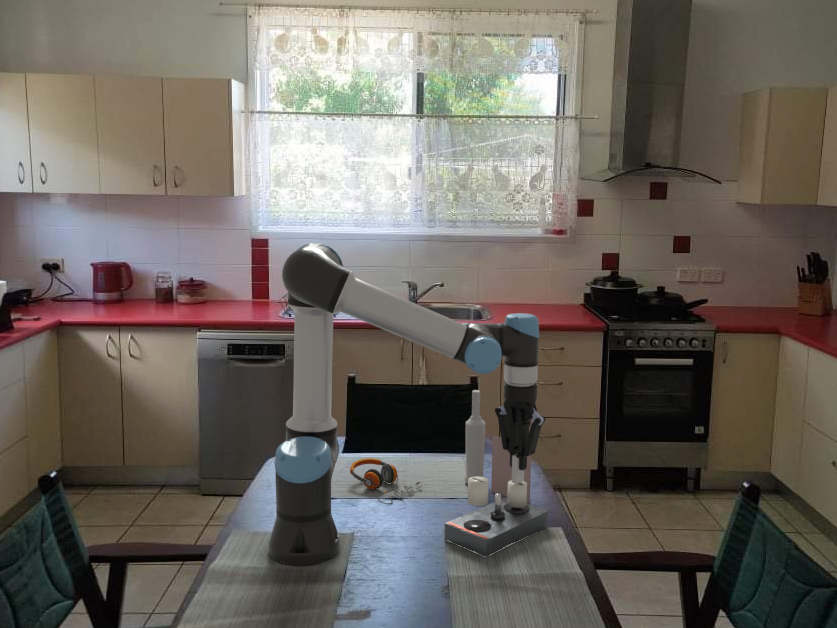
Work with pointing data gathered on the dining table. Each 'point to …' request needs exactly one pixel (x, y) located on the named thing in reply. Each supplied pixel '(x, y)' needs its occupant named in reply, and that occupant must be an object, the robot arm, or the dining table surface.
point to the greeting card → (505, 469)
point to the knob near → (478, 491)
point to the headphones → (377, 475)
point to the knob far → (517, 494)
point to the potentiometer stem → (497, 509)
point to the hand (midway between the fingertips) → (517, 481)
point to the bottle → (475, 440)
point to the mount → (495, 527)
